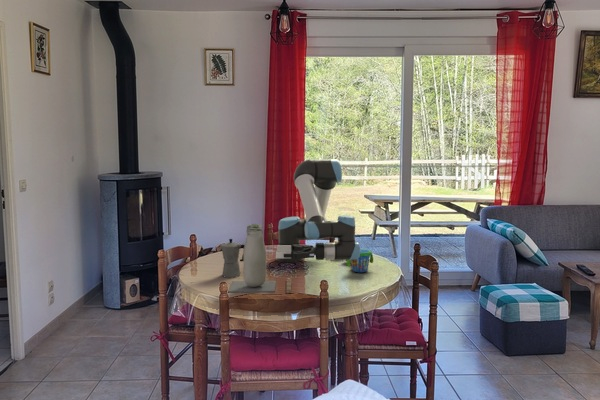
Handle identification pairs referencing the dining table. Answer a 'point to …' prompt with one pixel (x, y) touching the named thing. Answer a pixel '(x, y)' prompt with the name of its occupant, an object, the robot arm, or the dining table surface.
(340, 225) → the robot arm
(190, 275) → the dining table surface
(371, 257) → the snack cup
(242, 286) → the mat
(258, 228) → the grey green rounded cylinder
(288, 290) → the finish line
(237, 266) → the coffeepot
